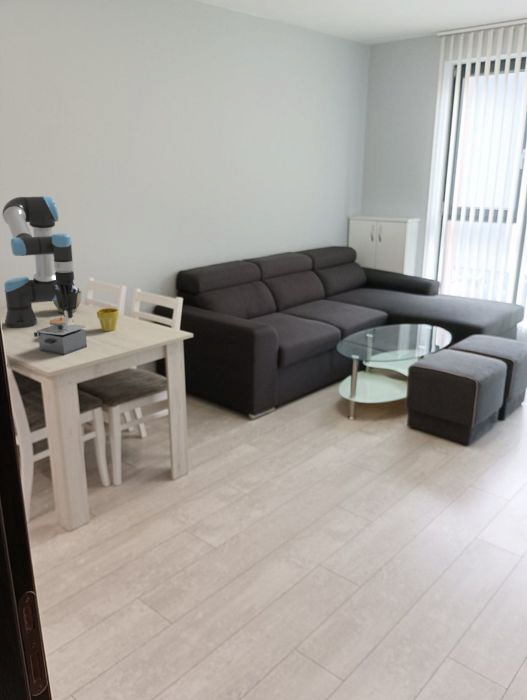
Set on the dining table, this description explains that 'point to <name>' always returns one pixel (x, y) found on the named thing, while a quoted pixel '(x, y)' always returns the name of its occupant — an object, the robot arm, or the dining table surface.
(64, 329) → the lid
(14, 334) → the dining table surface
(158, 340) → the dining table surface
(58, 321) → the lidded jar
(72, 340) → the storage box
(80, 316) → the dining table surface
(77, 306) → the planter bowl
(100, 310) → the plant pot
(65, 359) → the dining table surface
